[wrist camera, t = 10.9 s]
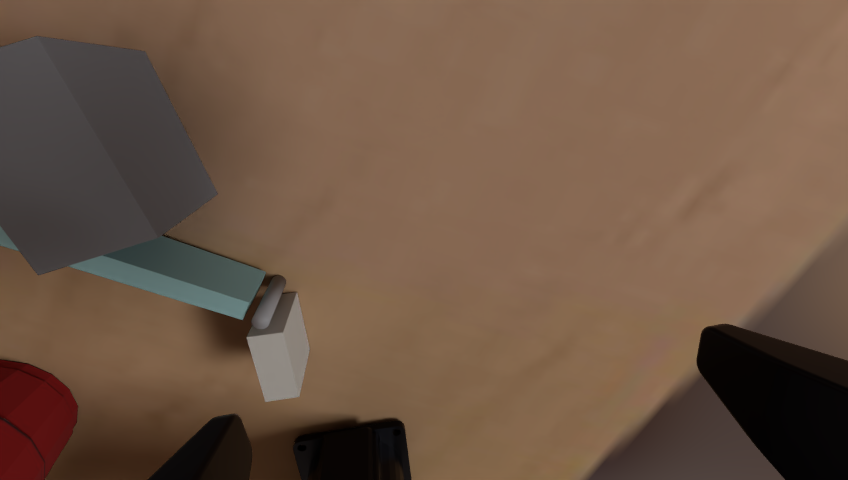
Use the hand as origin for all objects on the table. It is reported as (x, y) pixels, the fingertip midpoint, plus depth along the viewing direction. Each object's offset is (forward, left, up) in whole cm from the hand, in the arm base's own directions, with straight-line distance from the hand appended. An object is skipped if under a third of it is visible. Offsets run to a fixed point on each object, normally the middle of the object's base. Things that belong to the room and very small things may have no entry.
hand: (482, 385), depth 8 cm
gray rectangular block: (+4, +11, -13) cm, 17 cm away
